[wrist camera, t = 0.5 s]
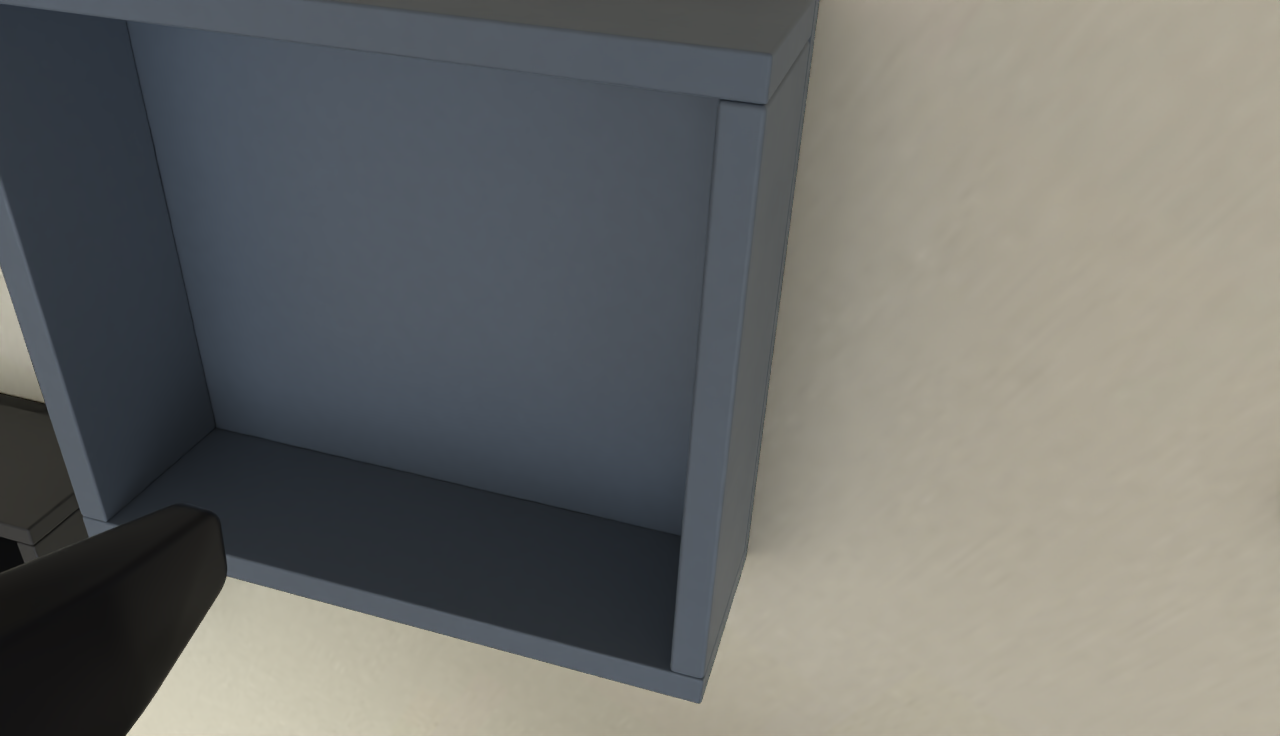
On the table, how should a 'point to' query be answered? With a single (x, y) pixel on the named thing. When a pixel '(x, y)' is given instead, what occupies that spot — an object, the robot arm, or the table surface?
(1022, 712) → the table surface
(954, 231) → the table surface
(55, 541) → the black bin
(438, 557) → the grey bin
